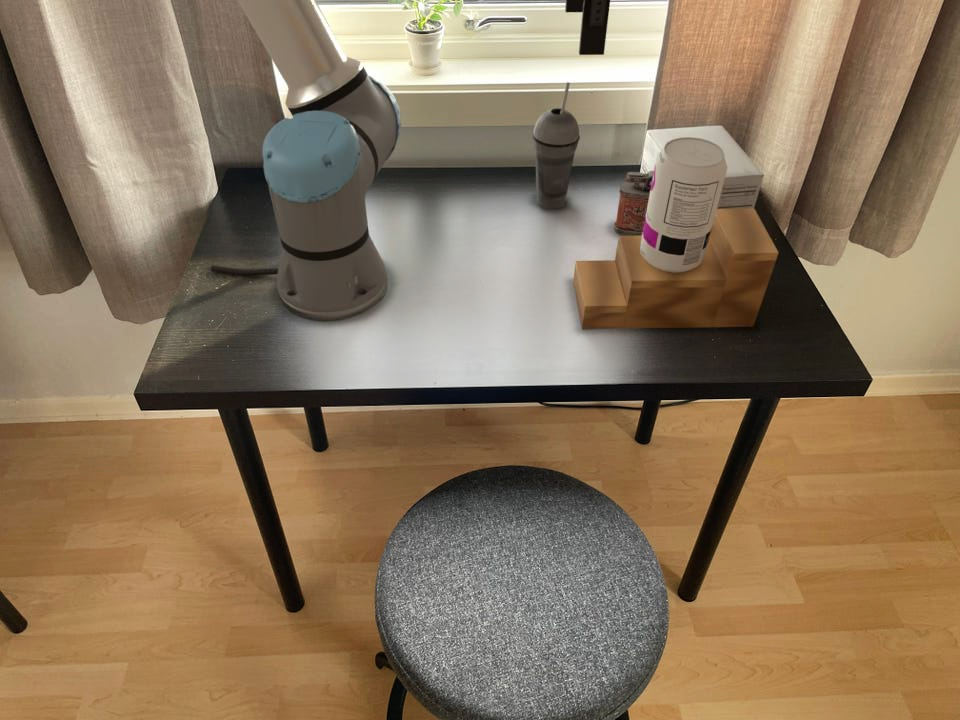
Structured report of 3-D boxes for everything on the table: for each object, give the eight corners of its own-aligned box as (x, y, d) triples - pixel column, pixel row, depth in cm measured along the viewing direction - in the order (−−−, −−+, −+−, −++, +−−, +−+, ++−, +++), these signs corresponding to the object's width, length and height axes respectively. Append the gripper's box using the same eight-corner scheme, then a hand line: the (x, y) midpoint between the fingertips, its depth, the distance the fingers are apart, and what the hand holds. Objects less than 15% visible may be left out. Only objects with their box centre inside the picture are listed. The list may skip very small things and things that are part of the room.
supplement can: (626, 256, 96) (644, 151, 86) (663, 231, 101) (684, 128, 90) (679, 283, 92) (704, 176, 82) (714, 256, 96) (743, 150, 86)
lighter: (665, 226, 116) (676, 168, 109) (666, 238, 113) (679, 180, 107) (613, 223, 116) (621, 166, 110) (614, 235, 114) (622, 177, 107)
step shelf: (581, 329, 98) (591, 255, 90) (572, 283, 105) (581, 210, 97) (753, 326, 99) (778, 252, 90) (732, 281, 106) (754, 208, 97)
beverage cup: (539, 185, 125) (546, 67, 111) (579, 195, 122) (592, 76, 109) (521, 206, 120) (527, 86, 106) (563, 217, 118) (575, 95, 104)
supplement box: (750, 228, 116) (766, 174, 109) (669, 234, 114) (681, 180, 108) (710, 174, 128) (723, 123, 121) (637, 179, 126) (646, 127, 120)
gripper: (670, -171, 63) (633, 74, 78) (621, -209, 82) (599, -4, 96) (583, -171, 63) (563, 74, 78) (553, -209, 81) (542, -4, 96)
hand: (583, 31), depth 87 cm, fingers open, 13 cm apart
